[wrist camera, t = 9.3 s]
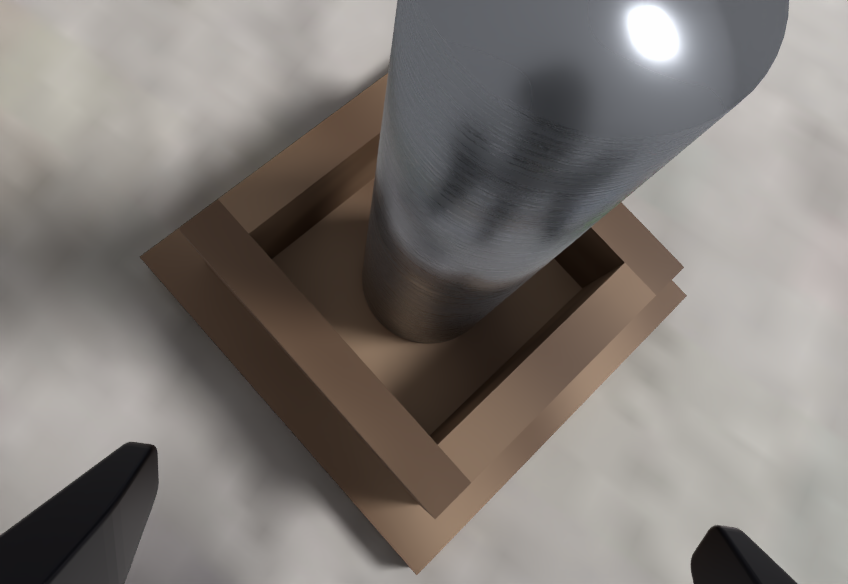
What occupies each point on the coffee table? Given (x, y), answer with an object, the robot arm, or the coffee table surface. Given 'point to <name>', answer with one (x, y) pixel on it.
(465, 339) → the walnut box
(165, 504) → the coffee table surface
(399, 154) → the steel pin
